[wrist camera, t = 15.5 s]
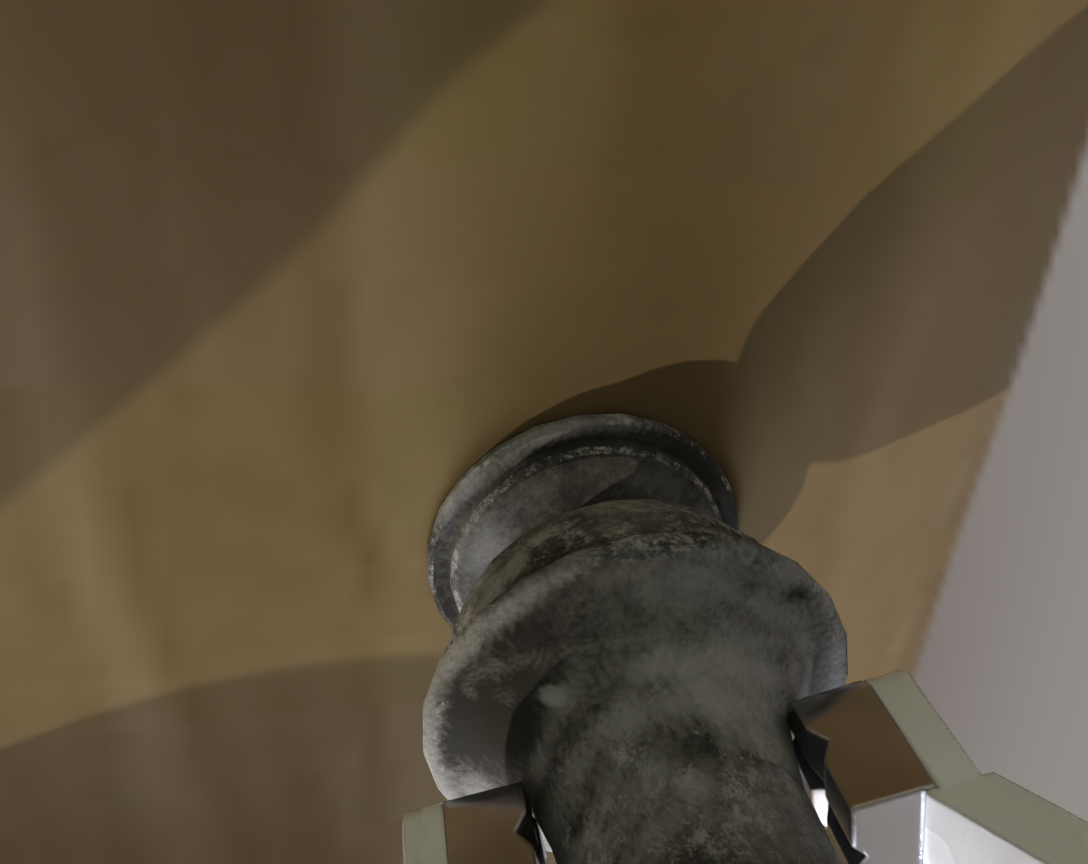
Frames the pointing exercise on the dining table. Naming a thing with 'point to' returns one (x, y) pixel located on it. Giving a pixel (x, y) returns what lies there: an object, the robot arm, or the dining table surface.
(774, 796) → the grey chess piece
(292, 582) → the dining table surface
